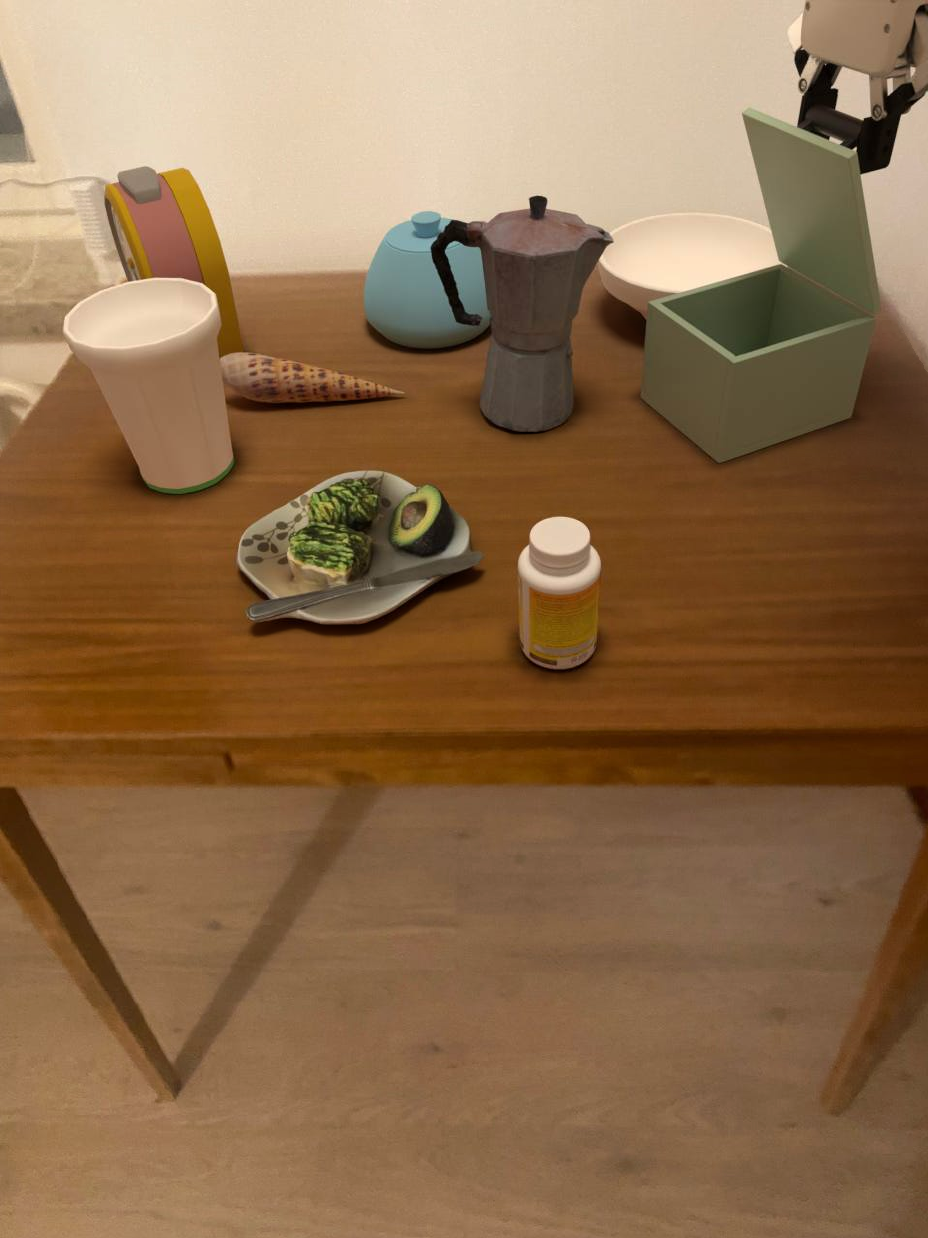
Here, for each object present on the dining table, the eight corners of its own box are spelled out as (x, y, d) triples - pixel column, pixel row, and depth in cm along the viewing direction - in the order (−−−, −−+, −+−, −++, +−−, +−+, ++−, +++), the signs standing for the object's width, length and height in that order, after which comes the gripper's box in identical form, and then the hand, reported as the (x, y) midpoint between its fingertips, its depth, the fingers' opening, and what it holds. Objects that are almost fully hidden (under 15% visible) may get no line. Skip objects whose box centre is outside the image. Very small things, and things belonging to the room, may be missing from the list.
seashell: (231, 389, 98) (220, 344, 95) (408, 388, 97) (403, 342, 93) (220, 413, 95) (208, 367, 92) (403, 412, 93) (397, 365, 90)
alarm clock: (140, 327, 110) (87, 157, 97) (210, 308, 112) (167, 139, 99) (174, 385, 100) (119, 204, 87) (250, 363, 102) (208, 184, 89)
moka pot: (609, 434, 89) (621, 215, 75) (441, 441, 89) (423, 225, 76) (600, 380, 96) (609, 170, 82) (444, 387, 96) (428, 180, 82)
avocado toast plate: (317, 690, 68) (306, 644, 65) (184, 574, 78) (169, 530, 75) (511, 559, 77) (510, 513, 74) (370, 470, 87) (363, 426, 84)
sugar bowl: (422, 279, 114) (413, 178, 106) (529, 308, 107) (527, 202, 99) (338, 333, 106) (322, 227, 98) (448, 368, 99) (440, 257, 91)
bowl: (700, 381, 94) (708, 312, 89) (557, 317, 106) (558, 253, 101) (817, 311, 103) (831, 245, 98) (674, 259, 114) (680, 197, 109)
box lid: (848, 158, 70) (904, 114, 70) (741, 112, 78) (791, 73, 78) (874, 315, 81) (923, 278, 81) (778, 261, 90) (822, 227, 90)
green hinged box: (718, 463, 85) (734, 362, 78) (640, 397, 93) (647, 301, 86) (851, 417, 88) (877, 317, 82) (764, 358, 97) (781, 263, 90)
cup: (92, 495, 86) (28, 338, 76) (168, 421, 95) (120, 270, 84) (212, 519, 83) (163, 357, 72) (280, 440, 91) (245, 284, 81)
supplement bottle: (611, 656, 69) (619, 544, 62) (543, 684, 67) (543, 573, 60) (571, 608, 72) (575, 498, 65) (505, 634, 71) (502, 524, 64)
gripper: (1044, -118, 60) (958, 180, 73) (850, -142, 72) (805, 119, 84) (952, -103, 58) (880, 202, 71) (768, -129, 70) (734, 137, 82)
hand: (840, 154), depth 77 cm, fingers closed on box lid, 6 cm apart
